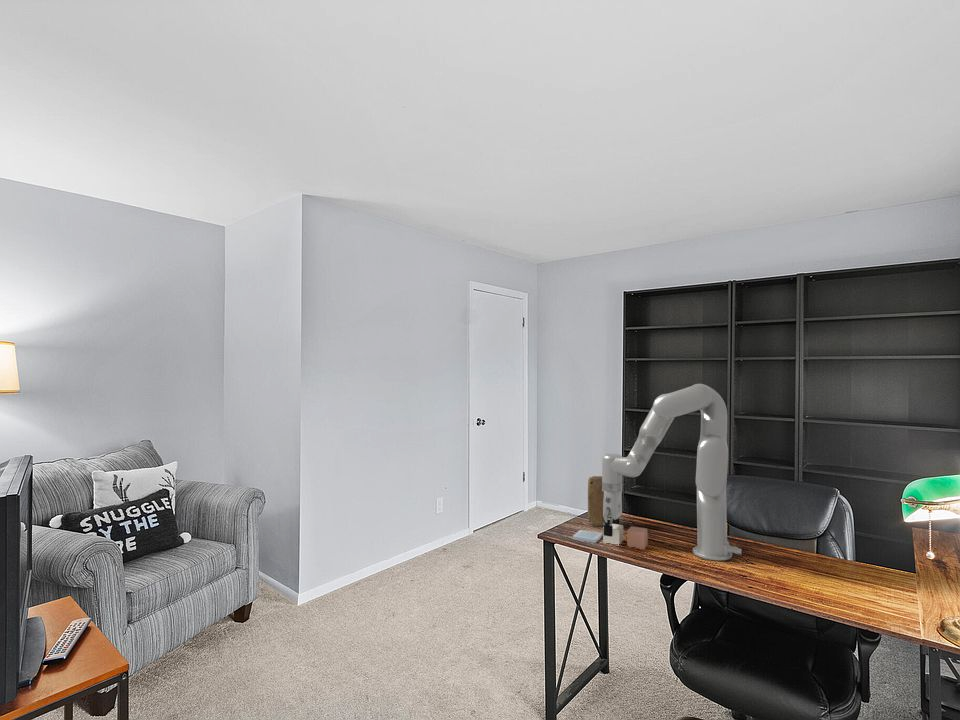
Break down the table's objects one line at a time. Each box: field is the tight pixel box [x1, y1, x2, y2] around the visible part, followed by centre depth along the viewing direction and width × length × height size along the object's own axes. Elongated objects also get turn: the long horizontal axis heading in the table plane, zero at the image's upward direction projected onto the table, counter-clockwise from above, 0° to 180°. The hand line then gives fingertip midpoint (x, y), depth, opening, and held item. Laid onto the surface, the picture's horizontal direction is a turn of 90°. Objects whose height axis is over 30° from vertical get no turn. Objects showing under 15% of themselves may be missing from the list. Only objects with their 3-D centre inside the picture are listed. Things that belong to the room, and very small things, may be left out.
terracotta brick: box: [626, 526, 649, 550], centre depth 191 cm, size 6×6×6 cm
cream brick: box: [602, 524, 624, 546], centre depth 195 cm, size 6×6×6 cm
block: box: [587, 475, 610, 528], centre depth 217 cm, size 11×8×20 cm
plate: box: [572, 529, 603, 544], centre depth 200 cm, size 9×9×1 cm
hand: (611, 532), depth 195 cm, fingers open, 9 cm apart
